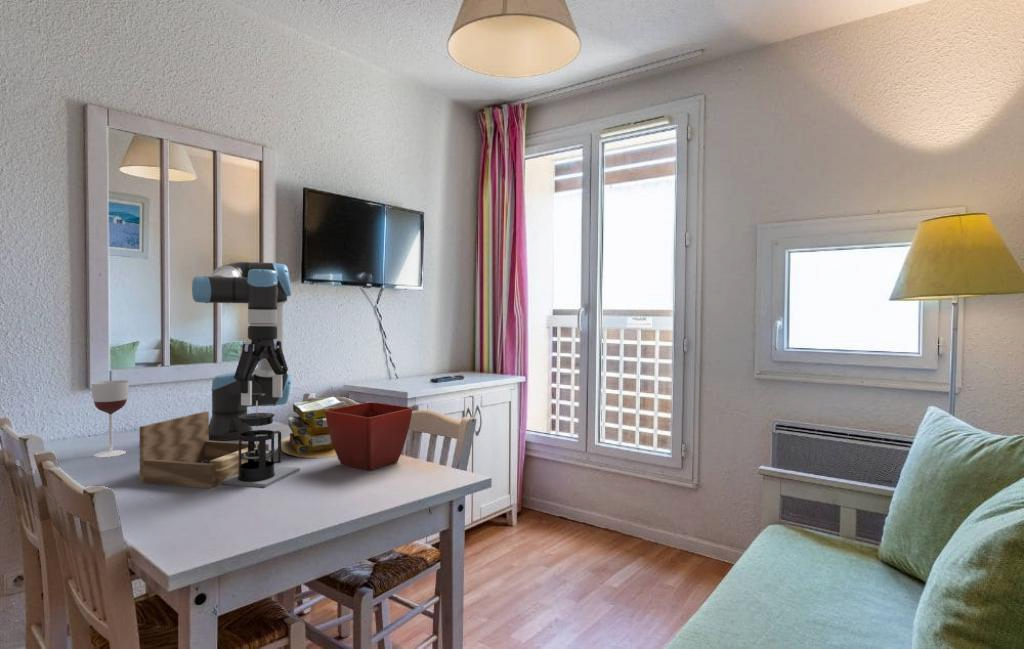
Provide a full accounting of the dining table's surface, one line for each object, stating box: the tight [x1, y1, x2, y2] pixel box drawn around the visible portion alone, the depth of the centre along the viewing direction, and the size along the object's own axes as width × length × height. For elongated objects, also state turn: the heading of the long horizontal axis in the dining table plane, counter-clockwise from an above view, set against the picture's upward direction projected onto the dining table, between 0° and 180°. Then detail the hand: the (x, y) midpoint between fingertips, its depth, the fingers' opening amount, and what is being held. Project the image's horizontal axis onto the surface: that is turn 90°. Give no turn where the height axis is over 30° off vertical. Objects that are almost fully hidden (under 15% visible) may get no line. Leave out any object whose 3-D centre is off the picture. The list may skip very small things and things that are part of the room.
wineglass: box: [91, 379, 130, 458], centre depth 180 cm, size 9×10×23 cm
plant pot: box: [325, 401, 413, 471], centre depth 172 cm, size 19×19×17 cm
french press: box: [238, 393, 282, 482], centre depth 154 cm, size 12×9×23 cm
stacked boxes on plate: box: [281, 396, 348, 459], centre depth 189 cm, size 25×25×17 cm
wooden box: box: [139, 411, 270, 489], centre depth 160 cm, size 24×22×15 cm
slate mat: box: [221, 465, 301, 488], centre depth 157 cm, size 16×13×1 cm
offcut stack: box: [209, 448, 258, 486], centre depth 158 cm, size 18×5×6 cm, turn 172°
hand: (262, 401), depth 156 cm, fingers open, 13 cm apart
